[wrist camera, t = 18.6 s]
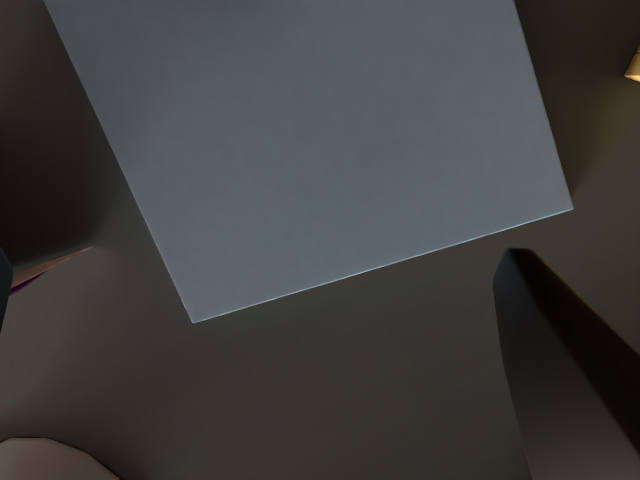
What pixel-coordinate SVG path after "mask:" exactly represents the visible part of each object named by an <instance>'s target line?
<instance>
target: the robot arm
mask: <svg viewBox="0 0 640 480" xmlns="http://www.w3.org/2000/svg"><path fill="white" fill-rule="evenodd" d="M12 281H13V270H12V266H11V264H10V263H9V261H8V259H7V257H6V255H5V254H4V252H3V250H2V248H1V246H0V332H1V328H2V324H3V319H4V315H5V311H6V307H7V302H8V298H9V294H10V289H11V285H12ZM493 292H494V300H495V308H496V315H497V323H498V331H499V338H500V346H501V353H502V360H503V365H504V369H505V374H506V378H507V382H508V386H509V390H510V394H511V398H512V402H513V405H514V409H515V413H516V417H517V421H518V425H519V429H520V433H521V437H522V441H523V445H524V449H525V453H526V457H527V461H528V465H529V469H530V472H531V476H532V480H640V355H639V354H638V353H637V352H636V351H635V350H634V349H633V348H632V347H631V346H630V345H629V344H628V343H627V342H626V341H625V340H624V339H623V338H622V337H621V336H620V335H619V334H618V333H616V332H615V331H614V330H613V329H612V328H611V327H610V326H609V325H608V324H607V323H606V322H605V321H604V320H603V319H602V318H601V317H600V316H599V315H598V314H597V313H596V312H595V311H594V310H593V309H592V308H591V307H590V306H589V305H588V304H587V303H586V302H585V301H584V300H583V299H582V298H581V297H580V296H579V295H578V294H577V293H576V292H575V291H574V290H573V289H572V288H571V287H570V286H569V285H568V284H567V283H566V282H565V281H564V280H563V279H562V278H561V277H560V276H559V275H558V274H557V273H556V272H555V271H554V270H553V269H552V268H551V267H550V266H549V265H548V264H547V263H546V262H545V261H544V260H543V259H542V258H541V257H540V256H538V255H537V254H536V253H535V252H534V251H533V250H531V249H529V248H508V249H507V250H506V251H505V253H504V255H503V257H502V259H501V262H500V264H499V266H498V268H497V271H496V273H495V275H494V279H493Z"/></svg>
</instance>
